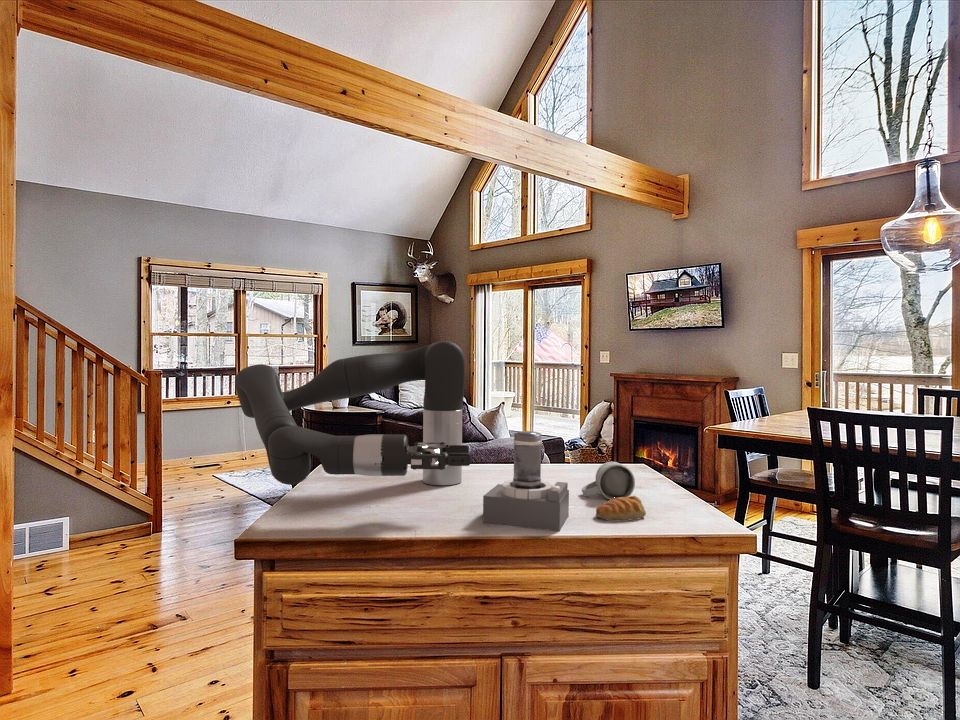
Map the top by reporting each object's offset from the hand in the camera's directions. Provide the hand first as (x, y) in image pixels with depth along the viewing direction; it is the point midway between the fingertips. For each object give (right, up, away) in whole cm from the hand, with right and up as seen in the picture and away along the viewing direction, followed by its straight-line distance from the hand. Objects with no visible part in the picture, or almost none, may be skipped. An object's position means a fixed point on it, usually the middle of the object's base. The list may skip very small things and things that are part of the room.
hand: (469, 455), depth 111 cm
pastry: (+29, -13, +4) cm, 32 cm away
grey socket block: (+11, -12, +1) cm, 16 cm away
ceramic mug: (+30, -12, +19) cm, 37 cm away
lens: (+11, -7, +1) cm, 13 cm away
